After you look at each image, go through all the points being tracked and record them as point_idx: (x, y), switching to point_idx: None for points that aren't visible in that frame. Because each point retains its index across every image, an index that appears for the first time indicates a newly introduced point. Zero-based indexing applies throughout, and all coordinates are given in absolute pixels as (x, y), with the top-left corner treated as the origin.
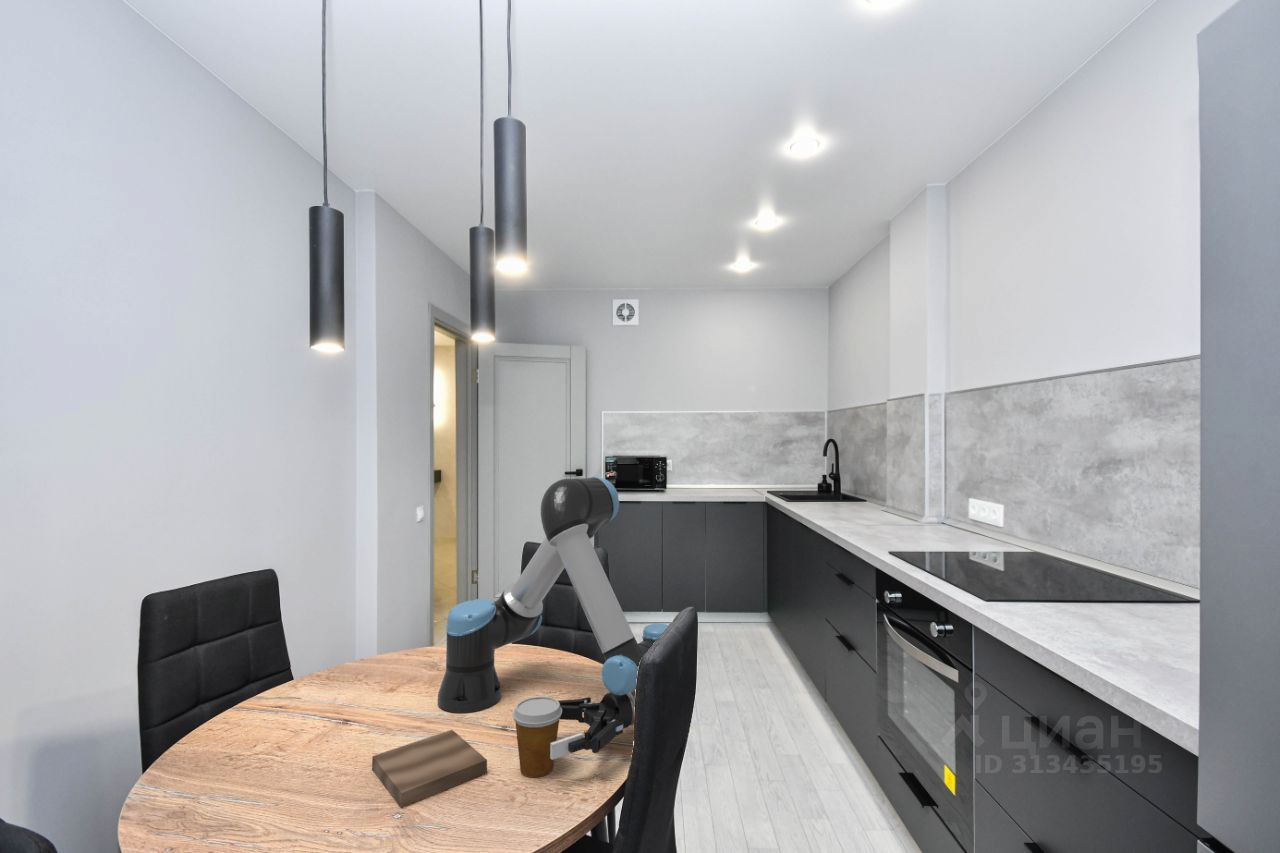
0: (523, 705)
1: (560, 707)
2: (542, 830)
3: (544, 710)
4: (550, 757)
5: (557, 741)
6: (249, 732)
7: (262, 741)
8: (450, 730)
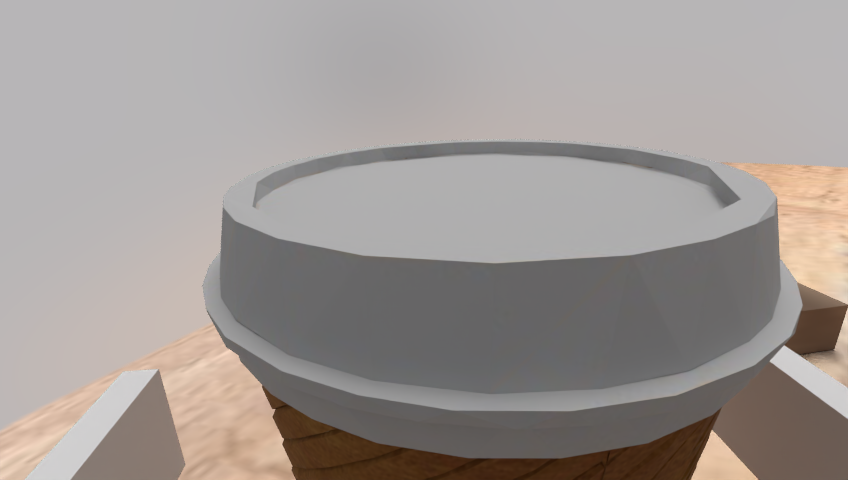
0: (570, 164)
1: (365, 327)
2: (24, 454)
3: (372, 202)
4: (181, 461)
5: (112, 413)
6: (804, 179)
7: (769, 185)
8: (835, 301)
